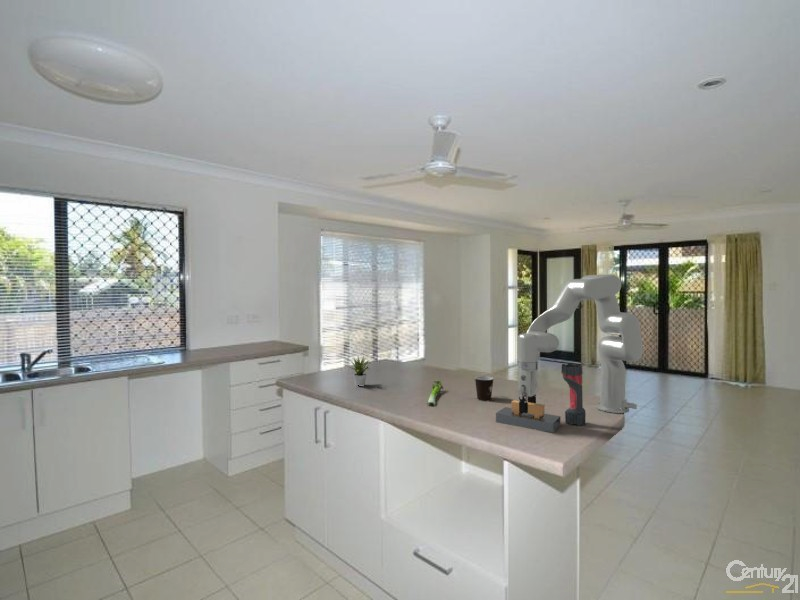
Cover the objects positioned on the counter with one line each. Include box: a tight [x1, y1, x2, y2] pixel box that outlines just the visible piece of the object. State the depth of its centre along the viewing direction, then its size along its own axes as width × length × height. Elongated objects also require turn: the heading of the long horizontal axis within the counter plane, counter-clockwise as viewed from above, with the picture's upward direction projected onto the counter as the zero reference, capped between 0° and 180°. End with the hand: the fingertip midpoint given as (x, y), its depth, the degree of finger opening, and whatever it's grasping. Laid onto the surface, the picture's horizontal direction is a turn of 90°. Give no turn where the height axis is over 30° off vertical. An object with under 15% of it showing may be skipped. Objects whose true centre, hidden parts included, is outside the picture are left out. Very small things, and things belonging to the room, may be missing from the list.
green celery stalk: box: [426, 380, 444, 407], centre depth 202 cm, size 6×7×30 cm
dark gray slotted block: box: [495, 406, 561, 434], centre depth 162 cm, size 22×10×4 cm, turn 55°
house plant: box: [349, 355, 372, 386], centre depth 225 cm, size 14×14×16 cm
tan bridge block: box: [510, 399, 545, 419], centre depth 162 cm, size 12×3×8 cm, turn 54°
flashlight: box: [561, 363, 587, 426], centre depth 162 cm, size 8×8×23 cm
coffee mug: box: [474, 375, 494, 402], centre depth 199 cm, size 12×9×10 cm
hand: (527, 409), depth 162 cm, fingers open, 9 cm apart
